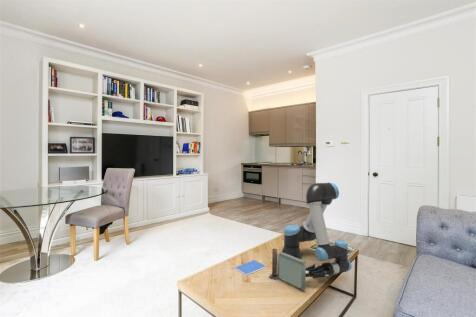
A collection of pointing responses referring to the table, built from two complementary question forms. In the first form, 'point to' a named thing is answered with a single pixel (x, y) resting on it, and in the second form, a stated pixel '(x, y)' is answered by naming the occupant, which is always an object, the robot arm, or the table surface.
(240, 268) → the tablet computer
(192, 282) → the table surface
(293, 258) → the panel
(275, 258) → the hinge post
